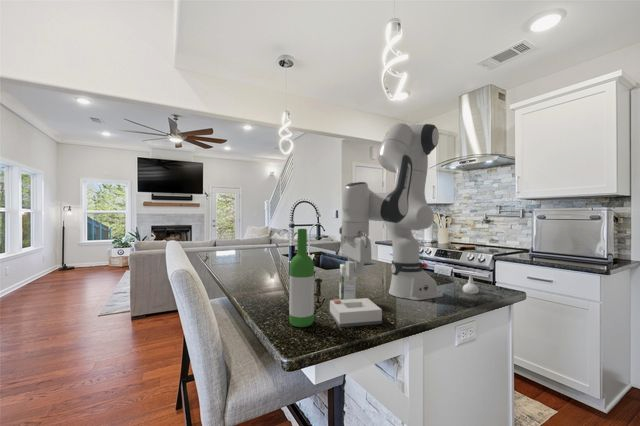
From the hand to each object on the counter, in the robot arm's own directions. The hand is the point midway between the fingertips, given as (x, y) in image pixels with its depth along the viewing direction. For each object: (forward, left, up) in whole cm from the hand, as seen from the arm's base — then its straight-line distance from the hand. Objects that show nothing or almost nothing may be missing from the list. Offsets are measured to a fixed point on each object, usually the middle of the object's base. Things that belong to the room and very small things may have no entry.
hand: (354, 272), depth 94 cm
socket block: (0, 0, -15) cm, 15 cm away
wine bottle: (+18, +1, -16) cm, 24 cm away
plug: (0, 0, -3) cm, 3 cm away
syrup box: (-3, -17, -16) cm, 23 cm away
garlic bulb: (-61, -19, -16) cm, 66 cm away
